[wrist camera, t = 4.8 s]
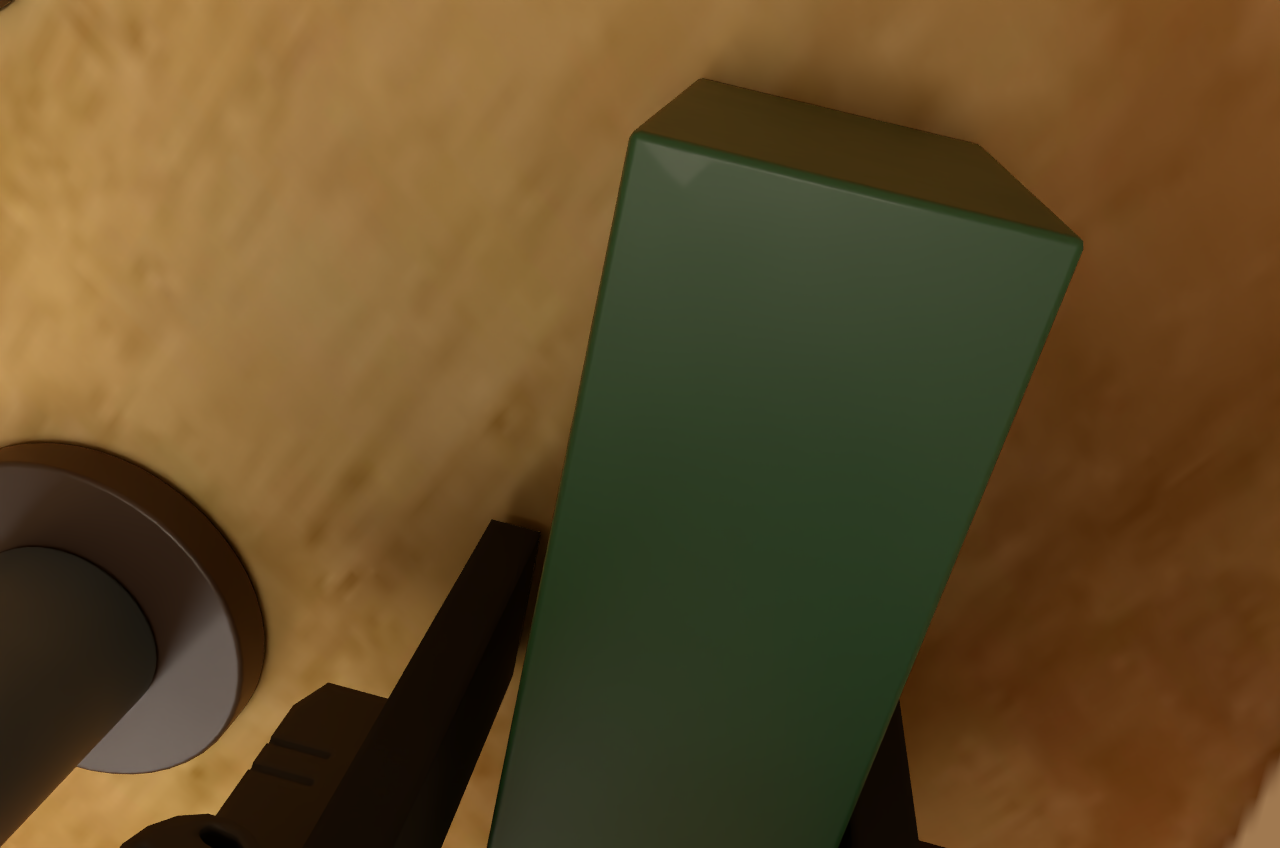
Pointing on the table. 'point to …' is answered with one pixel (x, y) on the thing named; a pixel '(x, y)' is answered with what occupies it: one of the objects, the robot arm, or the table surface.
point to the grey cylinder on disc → (111, 624)
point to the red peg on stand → (3, 3)
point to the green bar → (768, 469)
